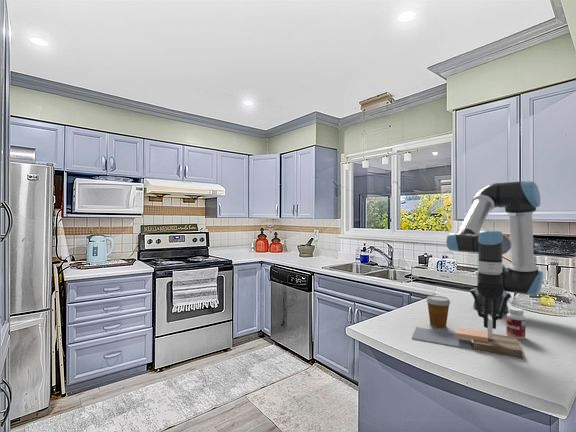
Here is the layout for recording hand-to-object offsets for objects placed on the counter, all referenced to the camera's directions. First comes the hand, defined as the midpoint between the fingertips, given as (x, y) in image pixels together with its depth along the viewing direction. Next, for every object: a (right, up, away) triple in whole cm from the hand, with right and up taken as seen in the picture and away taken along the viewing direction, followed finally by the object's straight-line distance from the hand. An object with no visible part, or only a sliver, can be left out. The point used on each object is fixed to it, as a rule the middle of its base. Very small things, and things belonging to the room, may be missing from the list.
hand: (489, 336), depth 118 cm
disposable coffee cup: (-9, -4, +22) cm, 24 cm away
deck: (+2, -3, -1) cm, 4 cm away
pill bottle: (+16, -4, +9) cm, 19 cm away
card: (-5, -1, +3) cm, 6 cm away
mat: (-14, -3, +8) cm, 17 cm away
